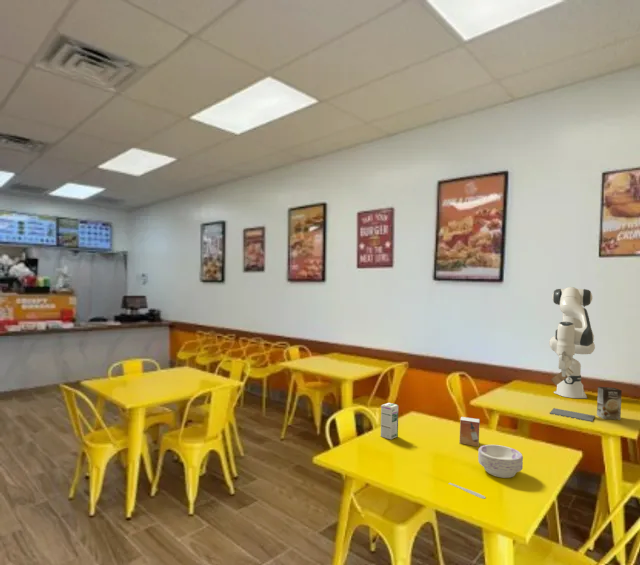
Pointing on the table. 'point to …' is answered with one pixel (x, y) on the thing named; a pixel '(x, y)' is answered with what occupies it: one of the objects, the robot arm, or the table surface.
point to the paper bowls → (500, 460)
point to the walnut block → (559, 378)
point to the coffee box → (609, 403)
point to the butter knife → (469, 491)
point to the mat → (572, 414)
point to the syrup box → (389, 420)
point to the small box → (469, 431)
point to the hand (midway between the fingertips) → (564, 375)
